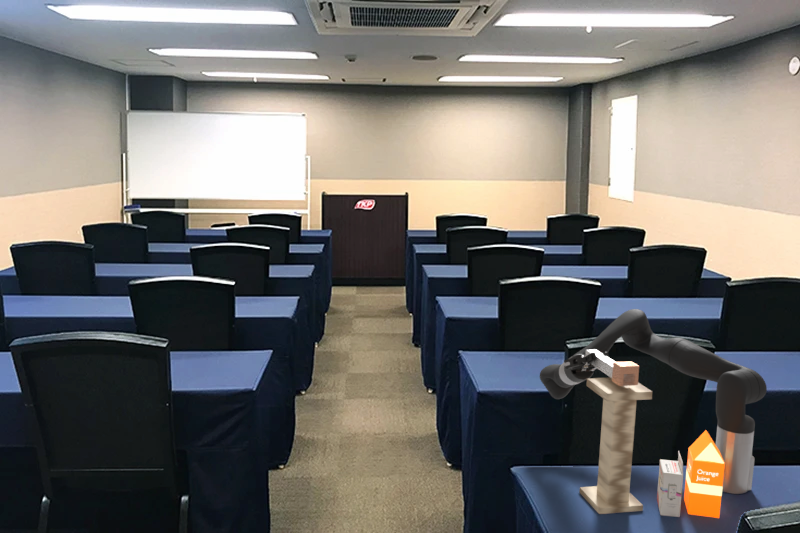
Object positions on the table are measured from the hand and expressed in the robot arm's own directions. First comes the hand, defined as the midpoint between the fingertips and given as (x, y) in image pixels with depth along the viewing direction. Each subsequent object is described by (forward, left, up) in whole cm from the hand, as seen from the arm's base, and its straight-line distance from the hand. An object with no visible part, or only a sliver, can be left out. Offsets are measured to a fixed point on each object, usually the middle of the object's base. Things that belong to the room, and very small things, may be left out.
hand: (600, 355), depth 204 cm
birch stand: (0, +11, -36) cm, 38 cm away
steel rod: (0, +5, -3) cm, 6 cm away
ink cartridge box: (-13, +17, -37) cm, 42 cm away
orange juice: (-22, +18, -37) cm, 46 cm away
